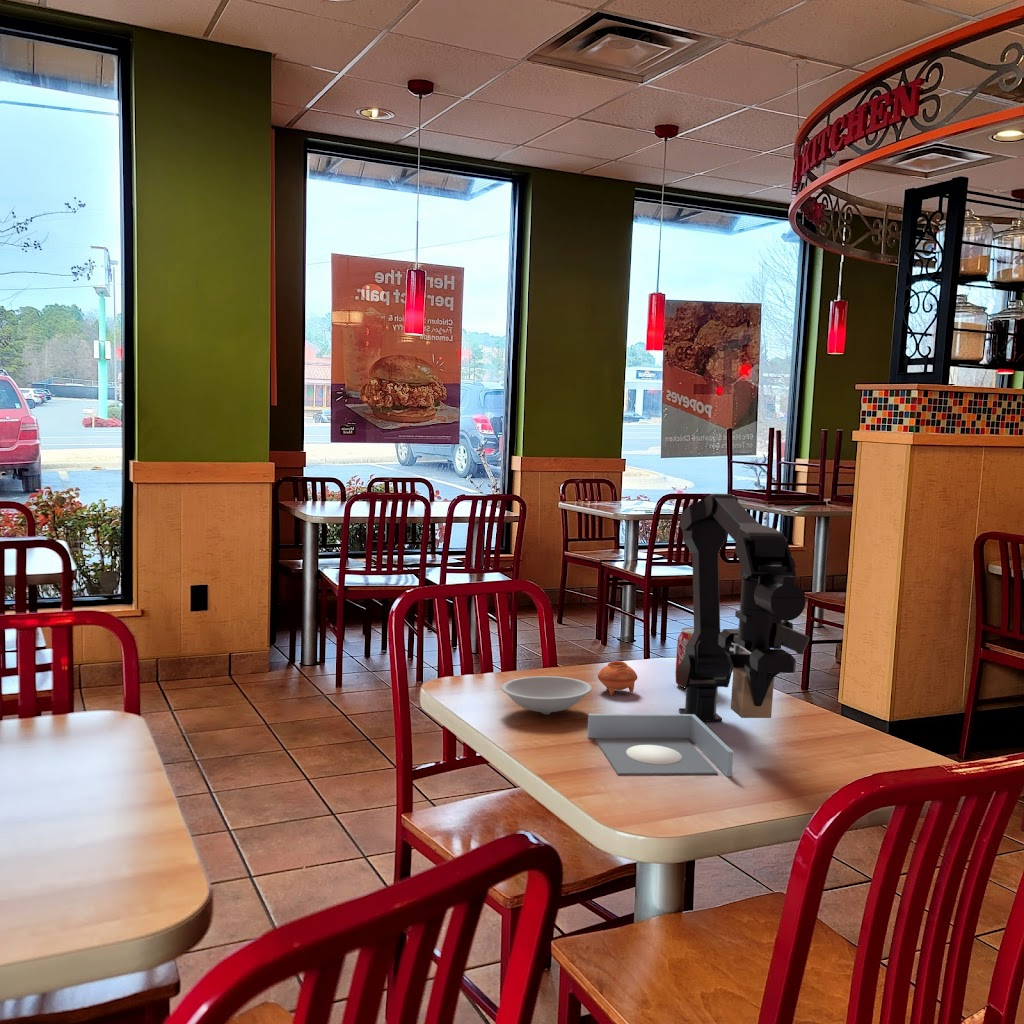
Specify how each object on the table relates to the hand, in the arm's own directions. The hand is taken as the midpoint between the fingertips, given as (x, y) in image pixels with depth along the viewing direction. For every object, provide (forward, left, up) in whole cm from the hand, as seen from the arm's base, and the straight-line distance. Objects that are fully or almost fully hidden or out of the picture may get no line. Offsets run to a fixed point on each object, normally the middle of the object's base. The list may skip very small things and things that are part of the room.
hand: (751, 701), depth 158 cm
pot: (-37, -13, -10) cm, 40 cm away
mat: (0, -16, -9) cm, 19 cm away
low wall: (0, -16, -9) cm, 19 cm away
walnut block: (0, 0, -2) cm, 2 cm away
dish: (-23, -30, -10) cm, 39 cm away
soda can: (-41, +4, -10) cm, 42 cm away
